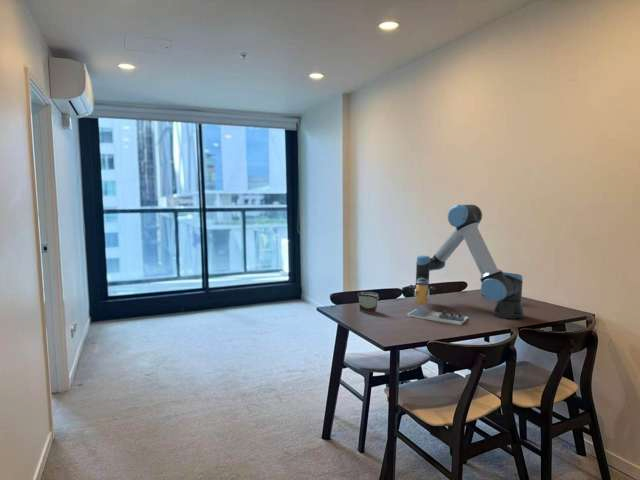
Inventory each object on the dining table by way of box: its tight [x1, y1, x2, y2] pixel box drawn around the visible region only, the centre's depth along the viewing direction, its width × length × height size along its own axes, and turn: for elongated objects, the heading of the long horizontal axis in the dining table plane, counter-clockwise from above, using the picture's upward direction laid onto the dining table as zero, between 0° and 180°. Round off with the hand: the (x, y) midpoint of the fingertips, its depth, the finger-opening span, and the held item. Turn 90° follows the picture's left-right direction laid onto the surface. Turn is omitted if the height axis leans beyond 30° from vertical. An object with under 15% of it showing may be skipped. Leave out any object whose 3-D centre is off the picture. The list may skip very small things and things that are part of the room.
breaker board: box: [406, 308, 469, 326], centre depth 229 cm, size 28×13×5 cm, turn 57°
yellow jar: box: [415, 280, 430, 306], centre depth 233 cm, size 6×6×12 cm
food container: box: [357, 291, 380, 314], centre depth 241 cm, size 12×6×10 cm, turn 57°
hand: (421, 294), depth 228 cm, fingers closed on yellow jar, 6 cm apart
